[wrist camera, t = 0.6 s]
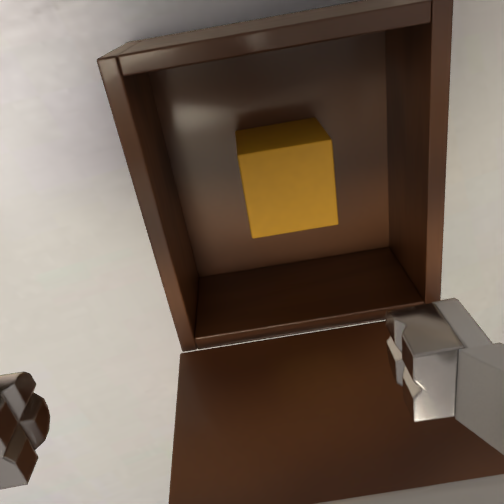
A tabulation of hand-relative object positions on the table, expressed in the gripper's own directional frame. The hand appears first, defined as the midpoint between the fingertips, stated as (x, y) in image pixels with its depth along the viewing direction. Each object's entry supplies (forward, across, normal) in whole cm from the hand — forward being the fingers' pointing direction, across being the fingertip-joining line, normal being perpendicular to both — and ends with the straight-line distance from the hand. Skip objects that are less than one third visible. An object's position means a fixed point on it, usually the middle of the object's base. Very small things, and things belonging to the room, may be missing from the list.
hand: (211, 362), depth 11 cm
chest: (+18, -3, +2) cm, 18 cm away
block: (+17, -3, +2) cm, 18 cm away
